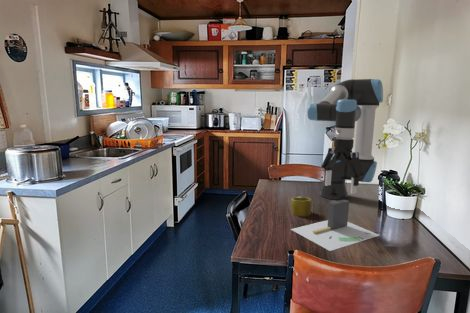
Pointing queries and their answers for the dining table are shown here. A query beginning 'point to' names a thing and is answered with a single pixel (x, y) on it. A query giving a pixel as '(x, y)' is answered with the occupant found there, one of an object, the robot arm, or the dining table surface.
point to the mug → (301, 206)
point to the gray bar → (336, 215)
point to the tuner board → (334, 235)
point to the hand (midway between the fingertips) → (340, 189)
